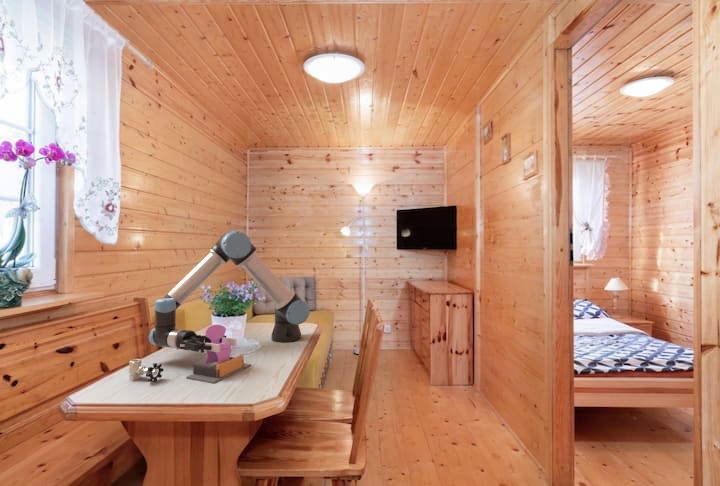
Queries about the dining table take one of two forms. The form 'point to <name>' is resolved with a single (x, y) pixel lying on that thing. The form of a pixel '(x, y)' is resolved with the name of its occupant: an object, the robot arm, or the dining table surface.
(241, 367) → the grey and orange tray
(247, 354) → the dining table surface
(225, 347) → the toy chair
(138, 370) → the valve
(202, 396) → the dining table surface
